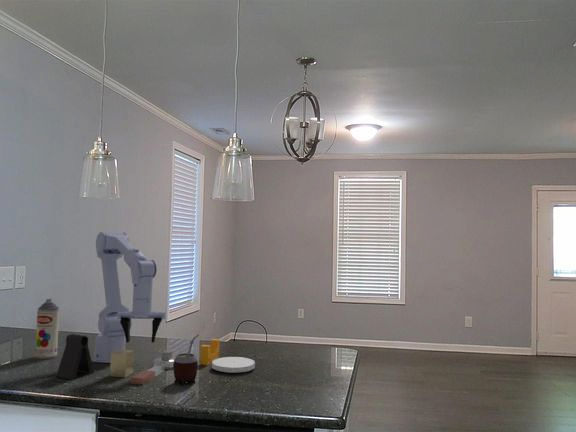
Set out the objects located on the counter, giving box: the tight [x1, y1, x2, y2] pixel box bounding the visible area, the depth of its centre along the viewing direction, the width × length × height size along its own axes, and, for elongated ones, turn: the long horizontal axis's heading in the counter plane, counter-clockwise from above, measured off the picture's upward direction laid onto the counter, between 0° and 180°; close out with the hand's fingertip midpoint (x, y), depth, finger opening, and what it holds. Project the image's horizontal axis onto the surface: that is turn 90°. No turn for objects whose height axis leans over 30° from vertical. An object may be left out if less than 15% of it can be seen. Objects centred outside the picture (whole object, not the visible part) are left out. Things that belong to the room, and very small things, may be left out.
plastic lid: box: [211, 356, 256, 373], centre depth 163 cm, size 14×14×2 cm
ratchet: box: [130, 350, 176, 385], centre depth 155 cm, size 8×25×5 cm, turn 171°
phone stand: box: [55, 333, 95, 381], centre depth 151 cm, size 9×6×12 cm, turn 156°
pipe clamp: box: [200, 338, 221, 366], centre depth 173 cm, size 12×4×6 cm, turn 169°
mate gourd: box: [172, 334, 199, 386], centre depth 146 cm, size 8×8×15 cm
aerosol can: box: [34, 298, 60, 360], centre depth 171 cm, size 7×7×20 cm
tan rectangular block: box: [109, 349, 135, 378], centre depth 152 cm, size 5×5×7 cm
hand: (140, 341), depth 156 cm, fingers open, 7 cm apart
